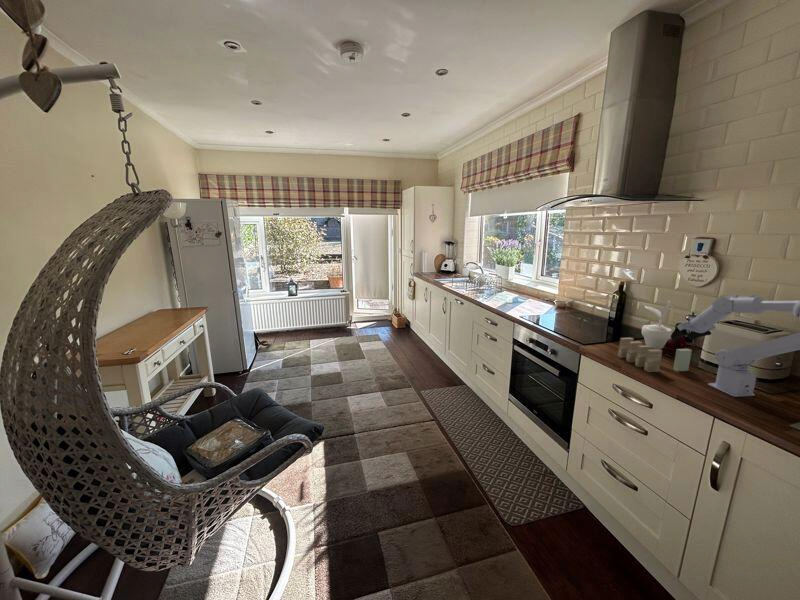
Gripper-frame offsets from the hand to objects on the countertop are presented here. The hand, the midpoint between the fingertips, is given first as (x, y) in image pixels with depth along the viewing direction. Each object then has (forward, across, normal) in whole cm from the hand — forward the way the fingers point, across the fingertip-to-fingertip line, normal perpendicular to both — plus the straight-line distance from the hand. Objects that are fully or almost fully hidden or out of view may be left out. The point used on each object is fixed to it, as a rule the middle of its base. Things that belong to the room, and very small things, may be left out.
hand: (680, 338), depth 137 cm
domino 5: (+8, 0, +10) cm, 13 cm away
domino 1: (+19, +12, -2) cm, 22 cm away
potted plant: (+24, -11, -10) cm, 29 cm away
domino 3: (+13, +12, +6) cm, 18 cm away
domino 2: (+16, +12, +2) cm, 20 cm away
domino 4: (+9, +12, +10) cm, 18 cm away
